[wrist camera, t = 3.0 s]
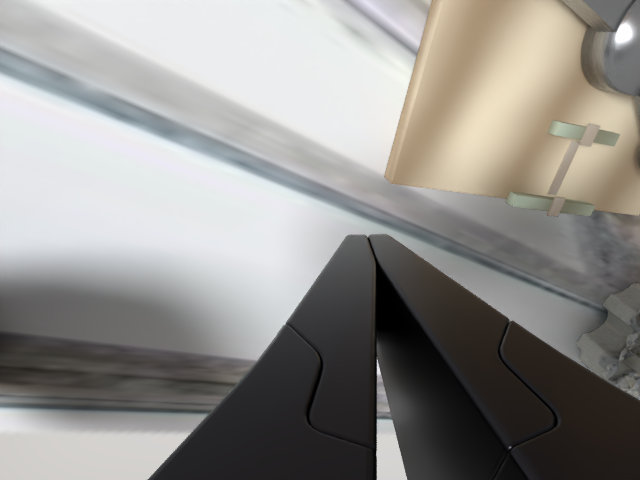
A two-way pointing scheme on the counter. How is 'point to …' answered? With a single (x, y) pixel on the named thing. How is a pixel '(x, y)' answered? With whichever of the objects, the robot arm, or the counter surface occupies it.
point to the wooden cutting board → (515, 112)
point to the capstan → (611, 45)
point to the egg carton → (616, 342)
